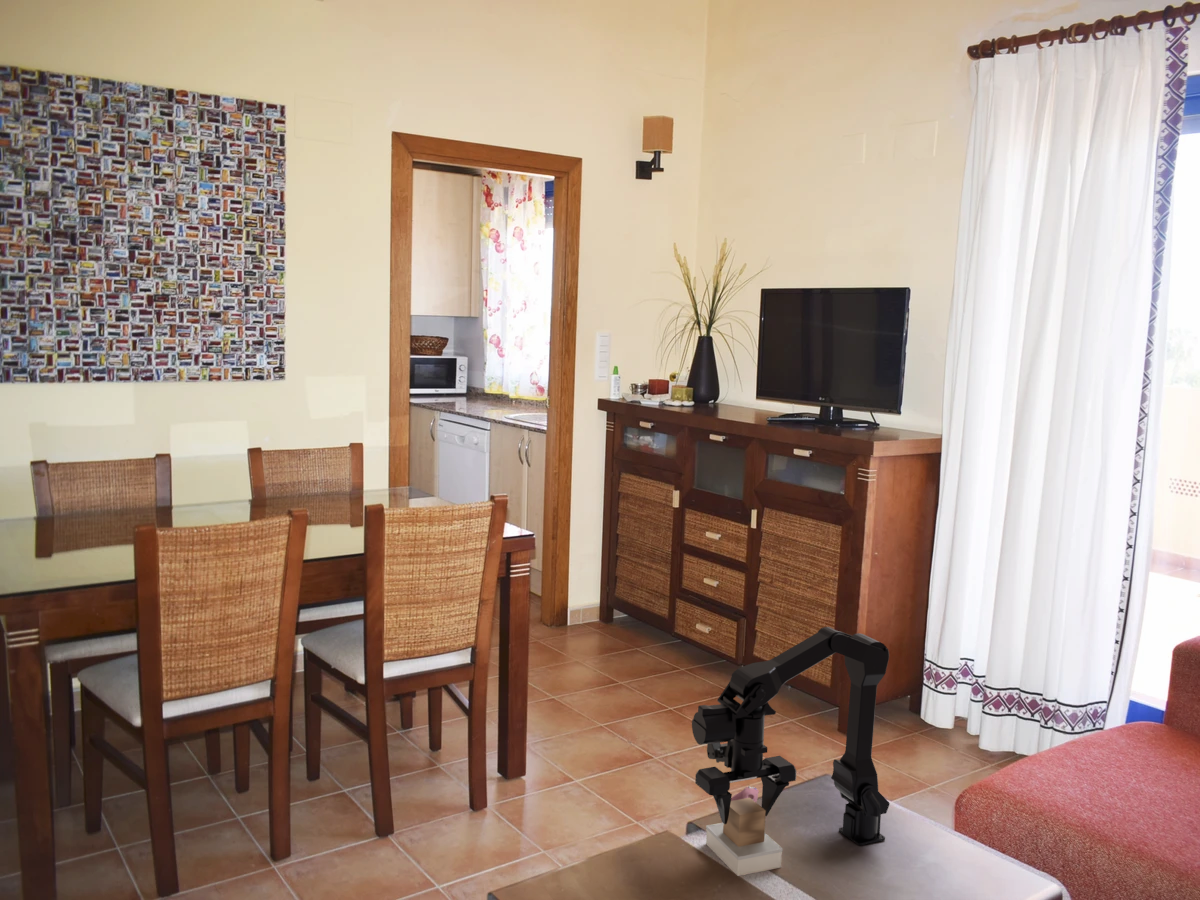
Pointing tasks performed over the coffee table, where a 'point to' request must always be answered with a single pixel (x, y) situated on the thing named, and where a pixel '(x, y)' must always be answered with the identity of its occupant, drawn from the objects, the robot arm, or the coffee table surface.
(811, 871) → the coffee table surface
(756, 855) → the white rectangular box
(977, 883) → the coffee table surface
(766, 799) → the robot arm
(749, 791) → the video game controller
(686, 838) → the coffee table surface
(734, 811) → the walnut block
